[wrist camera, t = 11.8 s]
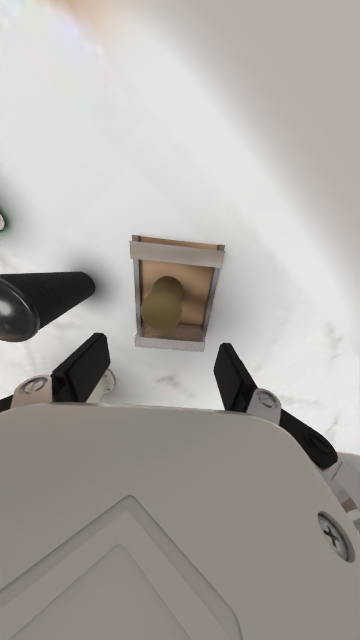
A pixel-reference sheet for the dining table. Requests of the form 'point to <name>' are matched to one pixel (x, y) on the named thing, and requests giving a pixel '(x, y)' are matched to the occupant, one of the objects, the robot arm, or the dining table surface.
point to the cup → (1, 222)
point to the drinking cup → (38, 300)
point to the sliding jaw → (171, 338)
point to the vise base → (178, 274)
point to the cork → (163, 304)
